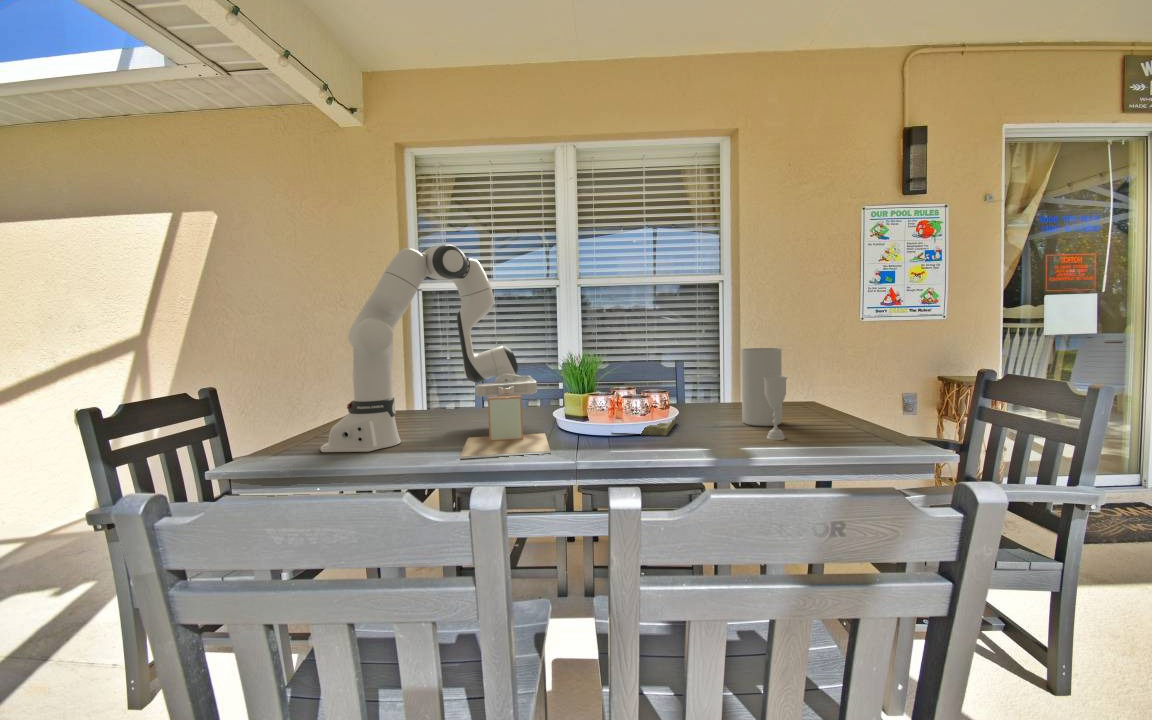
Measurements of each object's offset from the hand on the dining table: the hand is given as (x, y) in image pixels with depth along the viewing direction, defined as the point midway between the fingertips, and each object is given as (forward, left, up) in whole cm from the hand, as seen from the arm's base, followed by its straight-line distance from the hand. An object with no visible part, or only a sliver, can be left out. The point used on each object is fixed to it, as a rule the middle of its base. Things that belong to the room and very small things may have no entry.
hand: (506, 391), depth 160 cm
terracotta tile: (0, -8, -14) cm, 16 cm away
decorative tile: (+45, +2, -15) cm, 47 cm away
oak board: (0, -14, -15) cm, 20 cm away
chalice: (+78, -23, -15) cm, 82 cm away
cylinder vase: (+85, -1, -15) cm, 86 cm away
